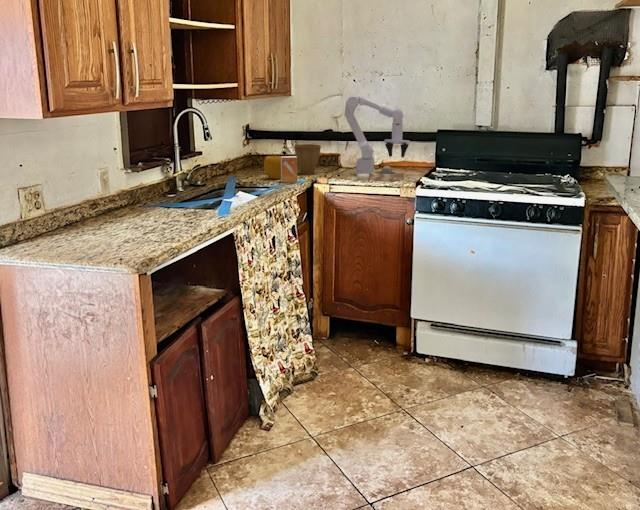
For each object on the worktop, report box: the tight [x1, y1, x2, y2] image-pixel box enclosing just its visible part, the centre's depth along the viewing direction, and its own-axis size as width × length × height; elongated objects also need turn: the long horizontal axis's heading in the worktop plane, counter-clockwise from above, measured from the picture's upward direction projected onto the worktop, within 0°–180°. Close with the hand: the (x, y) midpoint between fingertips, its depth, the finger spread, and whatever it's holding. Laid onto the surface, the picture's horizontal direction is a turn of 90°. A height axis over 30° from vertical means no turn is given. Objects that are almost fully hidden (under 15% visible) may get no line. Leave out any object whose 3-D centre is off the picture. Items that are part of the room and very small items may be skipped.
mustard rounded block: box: [263, 154, 282, 180], centre depth 338 cm, size 11×11×13 cm
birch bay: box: [368, 170, 405, 183], centre depth 335 cm, size 14×12×4 cm
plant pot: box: [294, 143, 322, 175], centre depth 357 cm, size 15×15×16 cm
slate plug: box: [381, 165, 393, 175], centre depth 335 cm, size 4×4×7 cm
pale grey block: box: [356, 173, 370, 181], centre depth 336 cm, size 6×6×3 cm
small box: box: [280, 155, 298, 184], centre depth 328 cm, size 8×6×13 cm
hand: (396, 156), depth 350 cm, fingers open, 7 cm apart
